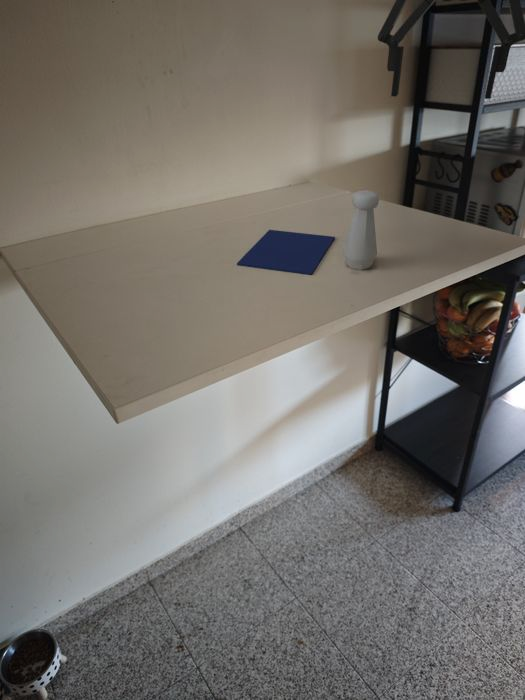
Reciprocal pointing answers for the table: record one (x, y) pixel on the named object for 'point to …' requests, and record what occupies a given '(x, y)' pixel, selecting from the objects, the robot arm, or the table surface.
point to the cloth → (287, 252)
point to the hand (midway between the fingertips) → (439, 96)
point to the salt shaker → (362, 231)
